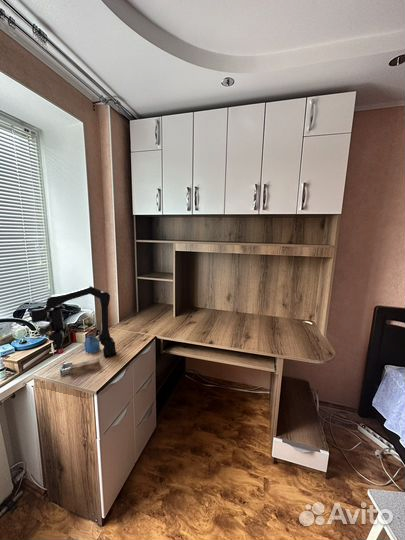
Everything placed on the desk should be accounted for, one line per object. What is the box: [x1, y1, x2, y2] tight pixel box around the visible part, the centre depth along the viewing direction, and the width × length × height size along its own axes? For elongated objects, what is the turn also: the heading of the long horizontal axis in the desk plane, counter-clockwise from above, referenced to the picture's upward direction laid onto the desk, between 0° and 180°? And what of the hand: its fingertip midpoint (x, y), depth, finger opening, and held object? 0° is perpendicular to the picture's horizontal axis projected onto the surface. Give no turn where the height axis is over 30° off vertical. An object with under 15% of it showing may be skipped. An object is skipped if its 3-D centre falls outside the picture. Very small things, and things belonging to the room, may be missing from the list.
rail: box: [70, 357, 101, 377], centre depth 122 cm, size 14×4×4 cm, turn 115°
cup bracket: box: [59, 361, 74, 376], centre depth 122 cm, size 5×8×3 cm, turn 25°
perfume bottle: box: [83, 331, 101, 355], centre depth 144 cm, size 6×6×12 cm
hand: (61, 345), depth 124 cm, fingers open, 9 cm apart
